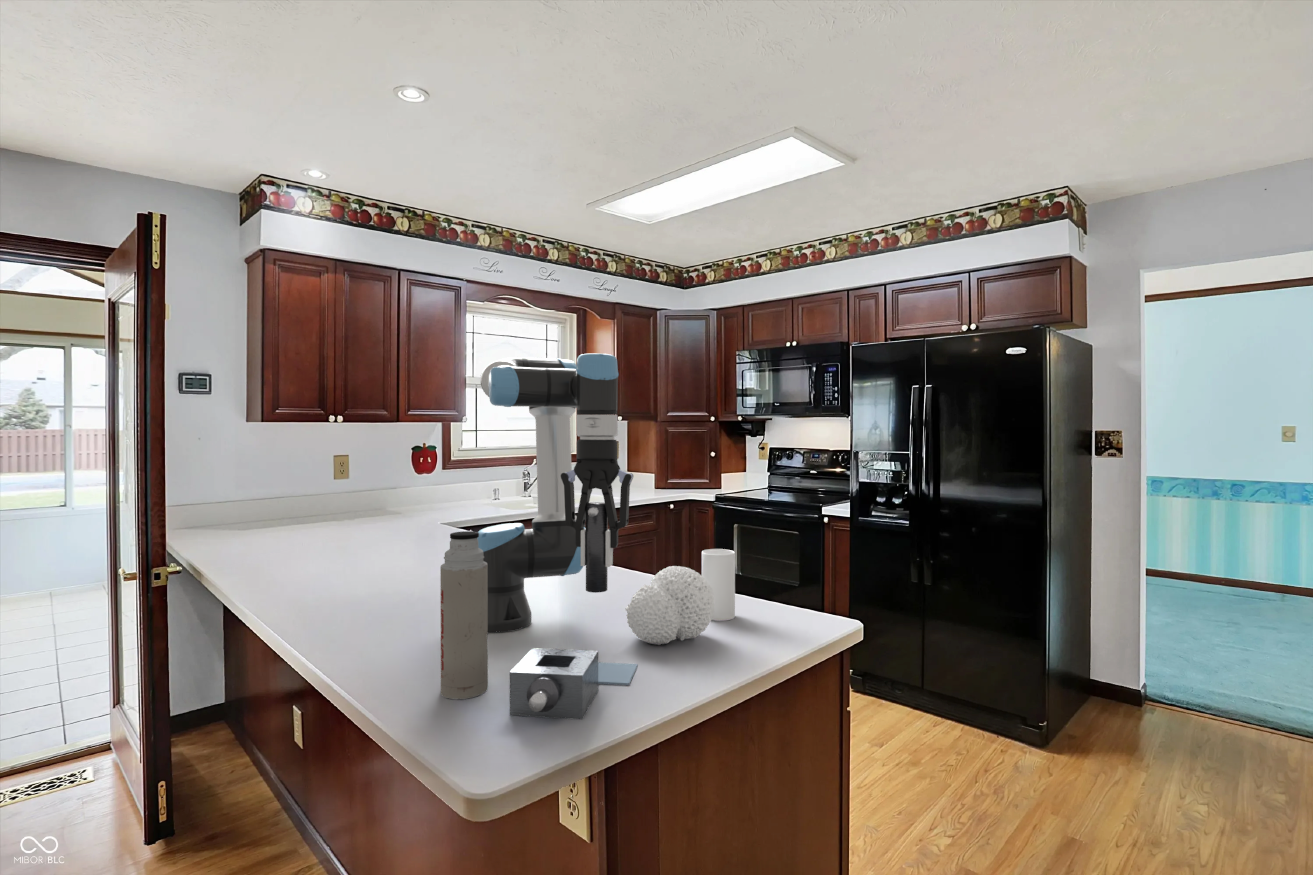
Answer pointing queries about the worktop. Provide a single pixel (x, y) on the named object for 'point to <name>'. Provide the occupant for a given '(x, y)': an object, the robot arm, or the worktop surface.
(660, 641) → the white coral
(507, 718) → the worktop surface
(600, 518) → the key
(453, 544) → the thermos bottle
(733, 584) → the cup
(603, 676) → the mat
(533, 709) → the block
